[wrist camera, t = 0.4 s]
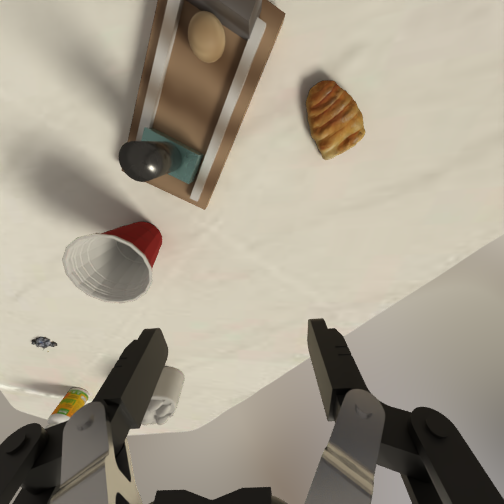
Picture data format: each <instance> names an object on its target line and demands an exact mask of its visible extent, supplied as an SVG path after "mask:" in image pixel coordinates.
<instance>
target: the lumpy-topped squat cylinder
mask: <svg viewBox="0 0 504 504" xmlns="http://www.w3.org/2000/svg"><path fill="white" fill-rule="evenodd" d="M184 380H185V378H184V374H183V373H182V371H180V370H179V369H176V368H173V367H165V366H164V368H163V370H162V373H161V375H160V378H159V380H158V383H157V385H156V388H155V390H154V393H153V396H152V398H151V401H150V403H149V406H148V408H147V411H146V413H145V416H144V418H143V421H142V423H141V424H142V425H148V424H158V425H162V424H164V423H166V422H167V421H168V419H169V418H170V417H171V416H173V414H174V413H175V411H176V408H177V404H178V401H179V397H180V394H181V390H182V387H183V383H184Z"/></svg>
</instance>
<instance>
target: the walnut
mask: <svg viewBox="0 0 504 504" xmlns="http://www.w3.org/2000/svg"><path fill="white" fill-rule="evenodd" d="M188 40H189V44H190V47H191V49H192V51H193V52H194V54H195V55H196V56H197V57H198V58H199V59H200V60H202V61H204V62H207V63H212V62H215V61H217V60H218V59H219V58H220V57H221V56H222V54H223V52H224V48H225V32H224V29H223V26H222V24H221V22H220V21H219V19H218V18H217V17H216V16H215V15H214V14H212V13H211V12H208V11H200V12H198V13H196V14H195V15H194V16H193V17H192V19H191V21H190V23H189V27H188Z"/></svg>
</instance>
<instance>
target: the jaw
mask: <svg viewBox="0 0 504 504" xmlns="http://www.w3.org/2000/svg"><path fill="white" fill-rule="evenodd" d="M202 157H203V154H202V153H200V152H198V151H197V150H195V149H193V148H191V147H189V146H187V145H185V144H183V143H181V142H179V141H177V140H176V139H174V138H172V137H170V136H168V135H166V134H164V133H162V132H160V131H158V130H156V129H155V128H148V127H144V131H143V135H142V139H141V141H130V142H127V143H125V144H124V145H123V146H122V147H121V149H120V152H119V162H120V165H121V167H122V169H123V171H124V172H125V173H126V174H127V175H128V176H129V177H130V178H132V179H134V180H136V181H140V182H146V181H149V180H152V179H155V178H157V177H160V176H163V175H165V174H169V175H171V176H173V177H175V178H177V179H179V180H181V181H183V182H185V183H187V184H190V183H191V182H193V181H194V179H195V176H196V174H197V171H198V168H199V165H200V163H201V160H202Z"/></svg>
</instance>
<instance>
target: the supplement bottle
mask: <svg viewBox="0 0 504 504" xmlns="http://www.w3.org/2000/svg"><path fill="white" fill-rule="evenodd" d="M88 398H89V393H88V392H87V391H86V390H84V389H81V388H72V389H70V390H69V391H68V393H67V394H66V395H65V397H64V398H63V399H62V401H61V402H60V403H59V405H58V406H57V407H56V409H55V410H54V412H53V413H52V414H51V416H50V417H49V419H48V424H49V425H47V426H46V428H49V427H51V426H54V425H57V424H59V423H62V422H65V421H67V420H69V419H70V417H71V416H72V415H73V414H74V413H75V412H76V411H77V410H79V409H80V408H81V407H83V406H84V404H85V403H86V401H87V400H88ZM46 428H45V429H46Z"/></svg>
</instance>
